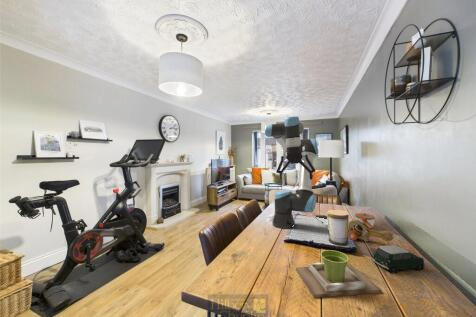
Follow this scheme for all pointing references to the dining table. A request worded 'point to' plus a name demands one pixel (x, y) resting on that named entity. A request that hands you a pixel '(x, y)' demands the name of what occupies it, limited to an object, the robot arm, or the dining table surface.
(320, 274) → the jig plate
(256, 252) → the dining table surface
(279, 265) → the dining table surface
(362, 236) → the toy helicopter
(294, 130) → the robot arm
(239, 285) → the dining table surface
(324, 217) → the smart home device
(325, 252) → the plant pot
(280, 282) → the dining table surface
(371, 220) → the lidded jar
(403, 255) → the miniature car
